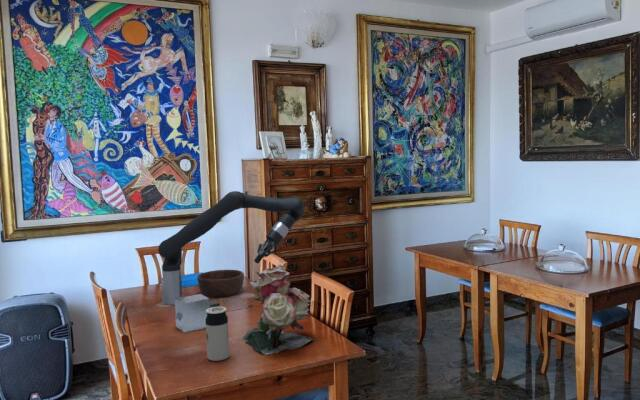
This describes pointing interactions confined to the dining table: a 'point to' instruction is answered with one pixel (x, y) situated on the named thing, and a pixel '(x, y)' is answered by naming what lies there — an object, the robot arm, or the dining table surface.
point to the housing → (191, 312)
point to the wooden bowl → (221, 283)
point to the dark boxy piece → (212, 304)
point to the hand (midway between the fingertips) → (255, 262)
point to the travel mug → (217, 334)
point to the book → (189, 279)
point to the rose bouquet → (277, 313)
